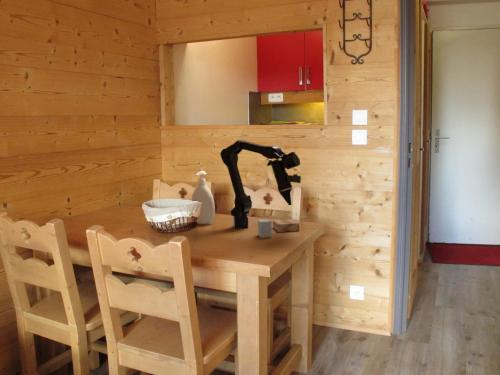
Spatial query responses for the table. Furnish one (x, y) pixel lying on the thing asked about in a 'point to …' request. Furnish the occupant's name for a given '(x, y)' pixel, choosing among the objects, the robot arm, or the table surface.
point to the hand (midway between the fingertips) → (290, 205)
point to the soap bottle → (204, 200)
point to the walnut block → (285, 225)
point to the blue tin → (264, 228)
